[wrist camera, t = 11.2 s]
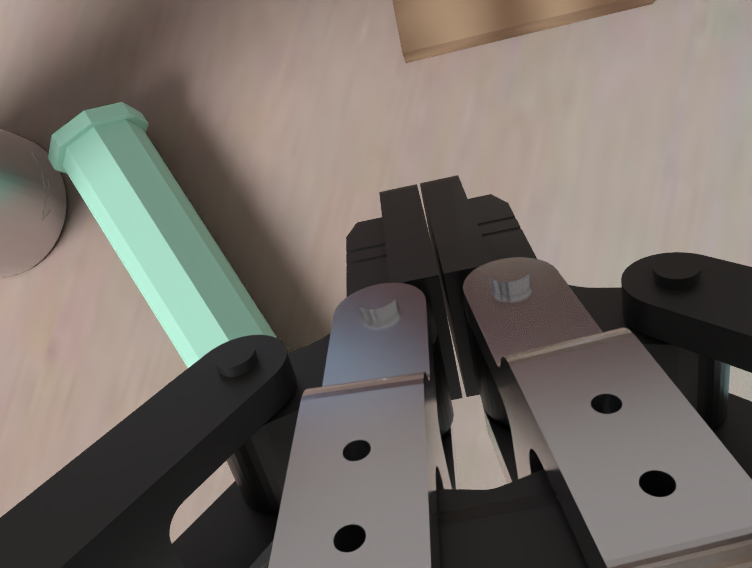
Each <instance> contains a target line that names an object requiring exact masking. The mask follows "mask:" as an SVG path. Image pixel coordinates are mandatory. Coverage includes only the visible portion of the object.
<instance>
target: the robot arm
mask: <svg viewBox="0 0 752 568" xmlns="http://www.w3.org/2000/svg"><path fill="white" fill-rule="evenodd" d="M420 186H421V192H422V198H423V203H424V208H425V213H426V218H427V224H428V228H427V224H426V220H425V215H424V211H423V207H422V203H421V199H420V195H419V191H418V187H417V184H416V185H411V186H406V187H402V188H397V189H392V190H387V191H383V192H380V202H381V210H382V217H381V218H376V219H372V220H367V221H362V222H358V223H357V224H356V225H355V226H354V228H353V229H352V230H351V232H350V233H349V234H348V236H347V237H346V251H347V254H346V260H347V297H346V298H345V299H344V300H343V301H342V302H341V303H340V304H339V305H338V306H337V308H336V310H335V312H334V315H333V321H332V328H331V333H330V334H329V335H327V336H326V337H324V338H322V339H321V340H319V341H317V342H315V343H313V344H311V345H309V346H306V347H304V348H301V349H299V350H296V351H294V352H291V353H289V354H288V353H287V350H286V347H285V345H284V344H283V342H282V341H280V340H279V339H277V338H275V337H272V336H268V335H249V336H243V337H239V338H236V339H233V340H230V341H227V342H225V343H223V344H221V345H219V346H217V347H216V348H214V349H212V350H211V351H209V352H208V353H207V354H205V355H204V356H203V357H202V358H200V359H199V360H198V361H197V362H195V363H194V364H193V365H192V366H190V367H189V368H188V369H187V370H185V371H184V372H183V373H182V374H180V375H179V376H178V377H177V378H175V379H174V380H173V381H171V382H170V383H169V384H168V385H166V386H165V387H164V388H163V389H161V390H160V391H159V392H158V393H156V394H155V395H154V396H153V397H151V398H150V399H149V400H148V401H146V402H145V403H144V404H143V405H141V406H140V407H139V408H138V409H136V410H135V411H134V412H133V413H131V414H130V415H129V416H128V417H126V418H125V419H124V420H123V421H121V422H120V423H119V424H117V425H116V426H115V427H114V428H112V429H111V430H110V431H109V432H107V433H106V434H105V435H104V436H102V437H101V438H100V439H99V440H97V441H96V442H95V443H94V444H92V445H91V446H90V447H89V448H87V449H86V450H85V451H84V452H82V453H81V454H80V455H79V456H77V457H76V458H75V459H74V460H72V461H71V462H70V463H69V464H67V465H66V466H65V467H63V468H62V469H61V470H60V471H58V472H57V473H56V474H55V475H53V476H52V477H51V478H50V479H48V480H47V481H46V482H45V483H43V484H42V485H41V486H40V487H38V488H37V489H36V490H35V491H33V492H32V493H31V494H30V495H28V496H27V497H26V498H25V499H23V500H22V501H21V502H20V503H18V504H17V505H16V506H15V507H13V508H12V509H11V510H10V511H8V512H7V513H6V514H4V515H3V516H2V517H1V518H0V568H752V402H751V401H749V400H746V399H743V398H741V397H738V396H736V395H733V394H730V393H728V390H729V375H730V365H731V366H734V367H737V368H740V369H743V370H745V371H748V372H751V373H752V267H749V266H745V265H741V264H737V263H733V262H729V261H725V260H720V259H716V258H712V257H708V256H704V255H699V254H693V253H680V252H674V253H662V254H656V255H652V256H648V257H645V258H642V259H640V260H638V261H636V262H634V263H633V264H631V265H630V266H629V267H627V268H626V269H625V271H624V273H623V274H622V278H621V283H622V288H585V287H577V286H572V285H568V284H567V283H566V281H565V280H564V279H563V277H562V276H561V275H560V273H559V272H558V271H557V269H556V268H555V267H554V266H552V265H551V264H549V263H547V262H545V261H542V260H538V259H537V258H536V256H535V254H534V252H533V250H532V248H531V246H530V244H529V242H528V241H527V239H526V237H525V235H524V233H523V231H522V229H521V228H520V225H519V223H518V221H517V220H516V219H515V216H514V214H513V212H512V210H511V208H510V206H509V204H508V203H507V202H505V201H503V200H501V199H499V198H497V197H495V196H493V195H491V194H490V195H485V196H480V197H475V198H471V199H467V197H466V194H465V192H464V189H463V187H462V184H461V182H460V179H459V177H458V175H457V176H452V177H448V178H443V179H438V180H434V181H429V182H424V183H420ZM66 207H67V203H66V189H65V185H64V182H63V178H62V175H61V173H60V171H57V170H55V169H54V167H53V166H52V164H51V163H50V161H49V159H48V153H47V152H46V151H45V150H44V149H42V148H41V147H40V146H39V145H37V144H36V143H34V142H32V141H30V140H28V139H26V138H23V137H21V136H18V135H15V134H13V133H10V132H8V131H5V130H2V129H0V278H4V277H9V276H14V275H18V274H20V273H22V272H25V271H27V270H29V269H31V268H32V267H33V266H35V265H36V264H37V263H39V262H40V261H42V259H43V258H44V257H45V256H46V255H47V254H48V253H49V252H50V251H51V249H52V248H53V246H54V244H55V243H56V241H57V239H58V238H59V236H60V233H61V230H62V227H63V224H64V221H65V214H66ZM428 229H429V232H428ZM429 234H430V236H429ZM430 239H431V240H430ZM446 313H447V314H446ZM447 318H448V319H447ZM448 322H449V324H448ZM449 326H450V330H451V334H452V338H453V343H454V347H455V351H456V355H457V359H458V363H459V367H460V372H461V376H462V380H463V384H464V388H465V392H466V397H469V396H474V395H479V394H480V396H481V399H482V403H483V408H484V414H485V420H486V426H487V431H488V434H489V437H490V440H491V442H492V445H493V447H494V450H495V453H496V455H497V458H498V461H499V463H500V466H501V468H502V471H503V474H504V476H505V479H506V482H507V484H506V485H503V486H501V487H498V488H495V489H489V490H463V489H459V482H458V471H457V460H456V449H455V439H454V434H453V429H452V425H451V424H452V421H453V416H454V415H453V408H452V403H451V400H454V399H459V398H462V393H461V387H460V382H459V377H458V372H457V366H456V361H455V356H454V351H453V345H452V340H451V335H450V330H449ZM226 460H227V462H228V465H229V467H230V469H231V471H232V474H233V476H234V478H235V480H236V481H235V482H234V483H233V484H232V485H231V486H230V487H229V488H228V489H227V490H226V491H225V492H224V493H223V494H222V495H221V496H220V497H219V498H218V499H217V500H216V501H215V502H214V503H213V504H212V505H211V506H210V507H209V508H208V509H207V510H206V511H205V512H204V513H203V514H202V515H201V516H200V517H199V518H198V519H197V520H196V521H195V522H194V523H193V524H192V525H191V526H190V527H189V528H188V529H187V530H186V531H185V532H184V533H183V534H182V535H181V536H180V537H179V538H177V539H176V540H175V541H174V542H173V543H171V541H170V536H169V530H170V524H171V521H172V518H173V516H174V514H175V512H176V510H177V509H178V507H179V506H180V505H181V504H182V503H183V501H184V500H185V499H187V498H188V497H189V496H190V495H191V494H192V493H193V492H194V491H195V490H196V489H197V488H198V487H199V486H200V485H201V484H202V483H203V482H204V481H205V480H206V479H207V478H208V477H209V476H211V475H212V474H213V473H214V472H215V471H216V470H217V469H218V468H219V467H220V466H221V465H222V464H223V463H224V462H225V461H226Z"/></svg>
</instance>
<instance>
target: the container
mask: <svg viewBox="0 0 752 568" xmlns="http://www.w3.org/2000/svg"><path fill="white" fill-rule="evenodd" d="M148 125H149V124H148V122H147V121H146V119H145V117H144V116H143V114H142V113H141V112H139V111H137V110H136V109H134V108H132V107H130V106H129V105H127V104H125V103H123V102H119V103H114V104H110V105H106V106H101V107H97V108H92V109H88V110H84V111H82V112H81V113H80V114H79V115H77V116H76V117H75V118H73V119H72V120H71V121H69V122H68V123H67V124H65V125H64V126H63V127H61V128H60V129H59V130H57V131H56V132H55V133H53V134H52V137H51V142H50V148H49V153H48V159H49V161H50V163H51V164H52V166H53V167H54V169H55V170H57V171H60V172H63V173H67V174H68V176H69V177H70V179H71V181H72V182H73V184H74V185H75V187H76V189H77V190H78V192H79V193H80V195H81V197H82V198H83V200H84V201H85V203H86V205H87V206H88V208H89V209H90V211H91V213H92V214H93V216H94V217H95V219H96V221H97V222H98V224H99V226H100V227H101V229H102V230H103V232H104V234H105V235H106V237H107V238H108V240H109V242H110V243H111V245H112V246H113V248H114V250H115V251H116V253H117V254H118V256H119V258H120V259H121V261H122V262H123V264H124V266H125V267H126V269H127V271H128V272H129V274H130V275H131V277H132V279H133V280H134V282H135V283H136V285H137V287H138V288H139V290H140V291H141V293H142V295H143V296H144V298H145V299H146V301H147V303H148V304H149V306H150V307H151V309H152V311H153V312H154V314H155V315H156V317H157V319H158V320H159V322H160V324H161V325H162V327H163V328H164V330H165V332H166V333H167V335H168V336H169V338H170V340H171V341H172V343H173V344H174V346H175V348H176V349H177V351H178V352H179V354H180V356H181V357H182V359H183V360H184V362H185V364H186V365H187V367H188V368H189V367H190V366H192V365H193V364H194V363H195V362H197V361H198V360H199V359H200V358H202V357H203V356H204V355H205V354H207V353H208V352H209V351H211V350H212V349H214V348H216V347H217V346H219V345H221V344H223V343H225V342H227V341H230V340H233V339H236V338H239V337H243V336H249V335H268V336H272V337H275V338H277V337H276V336H275V334H274V332H273V331H272V329H271V328H270V326H269V325H268V323H267V322H266V320H265V318H264V317H263V315H262V314H261V312H260V311H259V309H258V308H257V306H256V304H255V303H254V301H253V300H252V298H251V297H250V295H249V294H248V292H247V290H246V289H245V287H244V286H243V284H242V283H241V281H240V280H239V278H238V276H237V275H236V273H235V272H234V270H233V269H232V267H231V266H230V264H229V262H228V261H227V259H226V258H225V256H224V255H223V253H222V252H221V250H220V248H219V247H218V245H217V244H216V242H215V241H214V239H213V238H212V236H211V234H210V233H209V231H208V230H207V228H206V227H205V225H204V224H203V222H202V220H201V219H200V217H199V216H198V214H197V213H196V211H195V210H194V208H193V206H192V205H191V203H190V202H189V200H188V199H187V197H186V196H185V194H184V192H183V191H182V189H181V188H180V186H179V185H178V183H177V182H176V180H175V178H174V177H173V175H172V174H171V172H170V171H169V169H168V168H167V166H166V164H165V163H164V161H163V160H162V158H161V157H160V155H159V154H158V152H157V150H156V149H155V147H154V146H153V144H152V143H151V141H150V139H149V138H148V136H147V135H146V131H147V128H148Z"/></svg>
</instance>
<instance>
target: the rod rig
mask: <svg viewBox="0 0 752 568" xmlns="http://www.w3.org/2000/svg"><path fill="white" fill-rule="evenodd" d="M653 1H654V0H393V4H394V10H395V15H396V20H397V26H398V31H399V36H400V42H401V47H402V52H403V56H404V59H405V62H406V63H408V62H412V61H416V60H420V59H424V58H428V57H433V56H437V55H441V54H445V53H449V52H453V51H458V50H462V49H466V48H470V47H474V46H478V45H483V44H487V43H491V42H495V41H499V40H503V39H508V38H512V37H516V36H520V35H524V34H528V33H533V32H537V31H541V30H545V29H549V28H553V27H558V26H562V25H566V24H570V23H574V22H578V21H583V20H587V19H591V18H595V17H599V16H603V15H608V14H612V13H616V12H620V11H624V10H628V9H633V8H637V7H641V6H645V5H649V4H652V3H653Z"/></svg>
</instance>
